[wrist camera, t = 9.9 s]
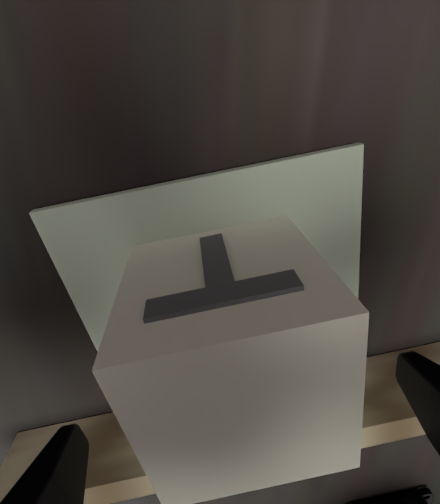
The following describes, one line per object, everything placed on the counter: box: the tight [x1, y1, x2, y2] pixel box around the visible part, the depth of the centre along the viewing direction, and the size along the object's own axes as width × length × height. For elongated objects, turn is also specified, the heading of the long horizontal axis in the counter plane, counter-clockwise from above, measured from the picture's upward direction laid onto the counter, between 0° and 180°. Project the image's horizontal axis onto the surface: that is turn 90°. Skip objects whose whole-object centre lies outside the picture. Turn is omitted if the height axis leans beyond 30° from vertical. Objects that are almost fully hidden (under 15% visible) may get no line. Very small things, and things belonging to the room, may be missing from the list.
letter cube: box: [92, 215, 369, 504], centre depth 11 cm, size 6×6×6 cm
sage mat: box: [29, 143, 364, 352], centre depth 13 cm, size 12×10×1 cm
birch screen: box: [0, 342, 440, 504], centre depth 15 cm, size 24×2×4 cm, turn 100°
